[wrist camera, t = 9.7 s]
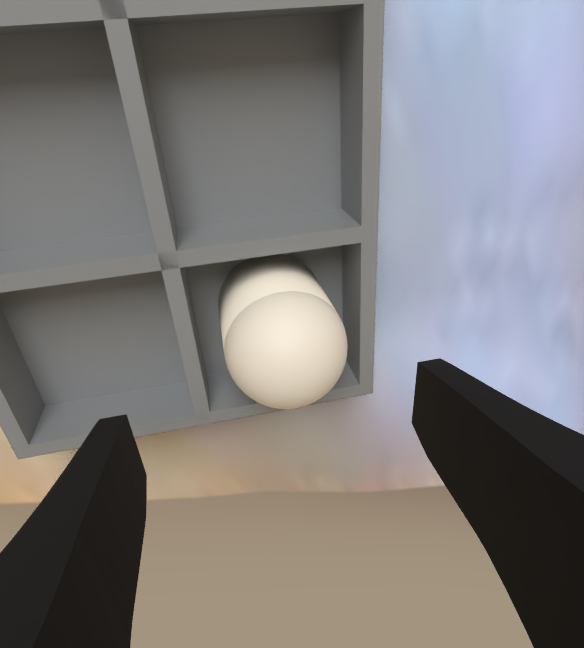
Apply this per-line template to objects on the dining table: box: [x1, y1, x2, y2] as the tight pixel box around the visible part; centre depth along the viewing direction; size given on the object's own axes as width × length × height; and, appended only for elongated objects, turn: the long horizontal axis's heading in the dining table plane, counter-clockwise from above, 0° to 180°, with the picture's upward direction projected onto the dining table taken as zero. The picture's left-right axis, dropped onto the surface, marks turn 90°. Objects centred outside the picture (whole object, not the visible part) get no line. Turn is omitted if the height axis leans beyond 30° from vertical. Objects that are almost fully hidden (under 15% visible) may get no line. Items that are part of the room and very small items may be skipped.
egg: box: [218, 254, 348, 409], centre depth 17 cm, size 4×4×6 cm
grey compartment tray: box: [0, 0, 384, 459], centre depth 15 cm, size 15×22×3 cm
